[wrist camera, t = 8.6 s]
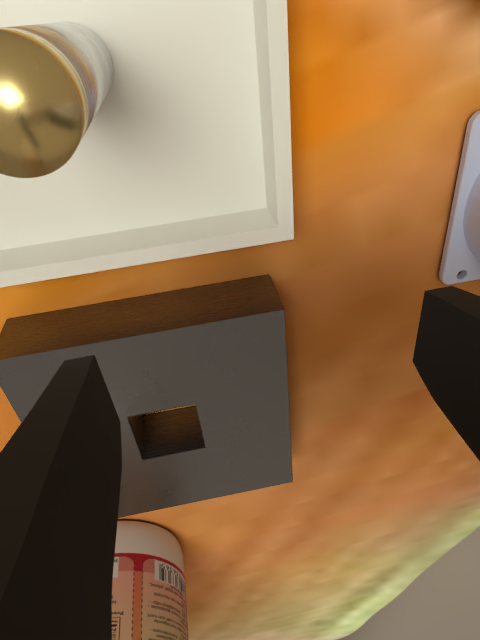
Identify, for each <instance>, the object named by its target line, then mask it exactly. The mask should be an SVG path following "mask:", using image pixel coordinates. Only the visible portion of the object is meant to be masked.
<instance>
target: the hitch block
mask: <svg viewBox="0 0 480 640" xmlns="http://www.w3.org/2000/svg"><path fill="white" fill-rule="evenodd" d="M90 355H95V357H96V360H97V362H98V365H99V368H100V370H101V373H102V375H103V378H104V381H105V383H106V386H107V388H108V391H109V394H110V396H111V399H112V401H113V404H114V407H115V409H116V412H117V414H118V417H119V420H120V424H121V445H122V474H121V487H120V499H119V510H118V518H119V517H124V516H129V515H134V514H139V513H144V512H149V511H153V510H158V509H163V508H168V507H173V506H178V505H183V504H187V503H192V502H197V501H202V500H207V499H212V498H217V497H221V496H226V495H231V494H236V493H241V492H246V491H250V490H255V489H260V488H265V487H270V486H275V485H280V484H284V483H289V482H293V475H292V454H291V434H290V414H289V393H288V373H287V353H286V332H285V312H284V308H283V305H282V303H281V301H280V299H279V296H278V294H277V292H276V290H275V287H274V285H273V283H272V281H271V278H270V276H269V275H263V276H257V277H252V278H246V279H240V280H234V281H228V282H222V283H216V284H210V285H205V286H199V287H193V288H187V289H181V290H175V291H169V292H163V293H158V294H152V295H146V296H140V297H134V298H128V299H122V300H116V301H110V302H105V303H99V304H93V305H87V306H81V307H75V308H69V309H63V310H58V311H52V312H46V313H40V314H34V315H28V316H22V317H16V318H11V319H7V320H6V322H5V324H4V326H3V329H2V331H1V333H0V386H1V388H2V390H3V391H4V393H5V395H6V397H7V398H8V400H9V402H10V403H11V405H12V407H13V409H14V410H15V412H16V414H17V416H18V417H19V419H20V421H21V422H23V420H24V419H25V418H26V416H27V415H28V413H29V412H30V410H31V409H32V407H33V406H34V404H35V403H36V401H37V400H38V399H39V397H40V396H41V394H42V393H43V391H44V390H45V388H46V387H47V385H48V384H49V382H50V381H51V379H52V378H53V376H54V375H55V373H56V372H57V370H58V369H59V368H60V366H61V365H62V363H63V362H64V361H65V360H70V359H75V358H80V357H85V356H90ZM192 404H196V406H192V407H187V408H182V409H176V410H171V411H166V412H161V413H155V414H150V415H145V416H143V414H144V413H150V412H155V411H160V410H165V409H171V408H176V407H181V406H187V405H192Z"/></svg>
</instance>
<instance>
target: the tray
mask: <svg viewBox="0 0 480 640" xmlns="http://www.w3.org/2000/svg"><path fill="white" fill-rule="evenodd" d="M67 21H68V22H75V23H79V24H82V25H84V26H86V27H88V28H89V29H91V30H92V31H94V32H95V33H96V34H97V35H98V36H99V37H100V38H101V39H102V41H103V42H104V43H105V45H106V47H107V49H108V50H109V53H110V55H111V58H112V62H113V70H114V75H113V82H112V85H111V88H110V90H109V92H108V94H107V95H106V97H105V99H104V101H103V103H102V104H101V106H100V108H99V110H98V111H97V113H96V115H95V117H94V119H93V120H92V122H91V124H90V126H89V127H88V129H87V131H86V133H85V135H84V136H83V138H82V140H81V142H80V144H79V145H78V147H77V149H76V151H75V152H74V154H73V155H72V157H71V158H70V159H69V160H68V161H67V163H66V164H65V165H63V166H62V167H61V168H59V169H58V170H56V171H54V172H52V173H50V174H47V175H45V176H41V177H36V178H17V177H10V176H7V175H3V174H0V288H1V287H7V286H13V285H19V284H25V283H31V282H37V281H43V280H49V279H55V278H62V277H68V276H74V275H80V274H86V273H92V272H98V271H104V270H110V269H116V268H122V267H128V266H134V265H140V264H146V263H153V262H159V261H165V260H171V259H177V258H183V257H189V256H195V255H201V254H207V253H213V252H219V251H225V250H231V249H237V248H244V247H250V246H256V245H262V244H268V243H274V242H280V241H286V240H292V239H294V220H293V187H292V154H291V121H290V87H289V54H288V21H287V0H0V28H4V27H14V26H24V25H34V24H44V23H55V22H67Z"/></svg>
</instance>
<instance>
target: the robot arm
mask: <svg viewBox="0 0 480 640" xmlns="http://www.w3.org/2000/svg"><path fill="white" fill-rule="evenodd" d="M460 271H462V272H461V273H460V274H459V275H457V274H458V273H459V272H460ZM439 279H440V280H441V281H442V282H443V283H444V284H446V285H451V284H456V283H462V282H467V281H473V280H479V279H480V111H477V112H476V113H474V114H473V115H472V116H471V118H470V119H469V121H468V124H467V129H466V134H465V139H464V145H463V150H462V155H461V161H460V166H459V171H458V176H457V182H456V187H455V192H454V198H453V203H452V208H451V213H450V219H449V224H448V229H447V235H446V240H445V245H444V250H443V256H442V261H441V266H440V272H439ZM413 363H414V365H415V367H416V368H417V370H418V372H419V374H420V376H421V378H422V380H423V382H424V383H425V385H426V387H427V389H428V390H429V392H430V394H431V396H432V397H433V399H434V400H435V402H436V403H437V405H438V406H439V407H440V409H441V410H442V411H443V413H444V414H445V415H446V417H447V418H448V420H449V421H450V422H451V424H452V425H453V426H454V428H455V429H456V430H457V432H458V433H459V434H460V436H461V437H462V438H463V440H464V441H465V442H466V444H467V445H468V446H469V448H470V449H471V450H472V452H473V453H474V454H475V455H476V457H477V458H478V459H479V461H480V297H479V296H477V295H474V294H472V293H469V292H467V291H464V290H461V289H458V288H455V287H452V286H449V287H443V288H438V289H433V290H428V291H425V294H424V299H423V305H422V311H421V317H420V322H419V328H418V334H417V339H416V345H415V351H414V357H413ZM121 474H122V445H121V424H120V420H119V417H118V414H117V412H116V409H115V407H114V404H113V401H112V399H111V396H110V394H109V391H108V388H107V386H106V383H105V381H104V378H103V375H102V373H101V370H100V368H99V365H98V362H97V360H96V357H95V355H90V356H85V357H80V358H75V359H70V360H65V361H64V362H63V363H62V365H61V366H60V368H59V369H58V370H57V372H56V373H55V375H54V376H53V378H52V379H51V381H50V382H49V384H48V385H47V387H46V388H45V390H44V391H43V393H42V394H41V396H40V397H39V399H38V400H37V401H36V403H35V404H34V406H33V407H32V409H31V410H30V412H29V413H28V415H27V416H26V418H25V419H24V420H23V422H22V423H21V425H20V426H19V427H18V429H17V430H16V432H15V433H14V434H13V436H12V437H11V439H10V440H9V442H8V443H7V444H6V446H5V447H4V448H3V450H2V451H1V453H0V640H112V581H113V566H114V555H115V544H116V533H117V521H118V510H119V499H120V487H121Z"/></svg>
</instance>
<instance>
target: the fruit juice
mask: <svg viewBox="0 0 480 640" xmlns="http://www.w3.org/2000/svg"><path fill="white" fill-rule="evenodd" d="M112 640H188V625H187V607H186V590H185V572H184V560H183V554H182V550H181V547H180V544H179V542H178V540H177V539H176V538H175V536H174V535H173V534H171V533H170V532H169V531H167V530H165V529H164V528H161V527H159V526H156V525H153V524H150V523H145V522H139V521H117V533H116V544H115V555H114V566H113V581H112Z"/></svg>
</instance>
